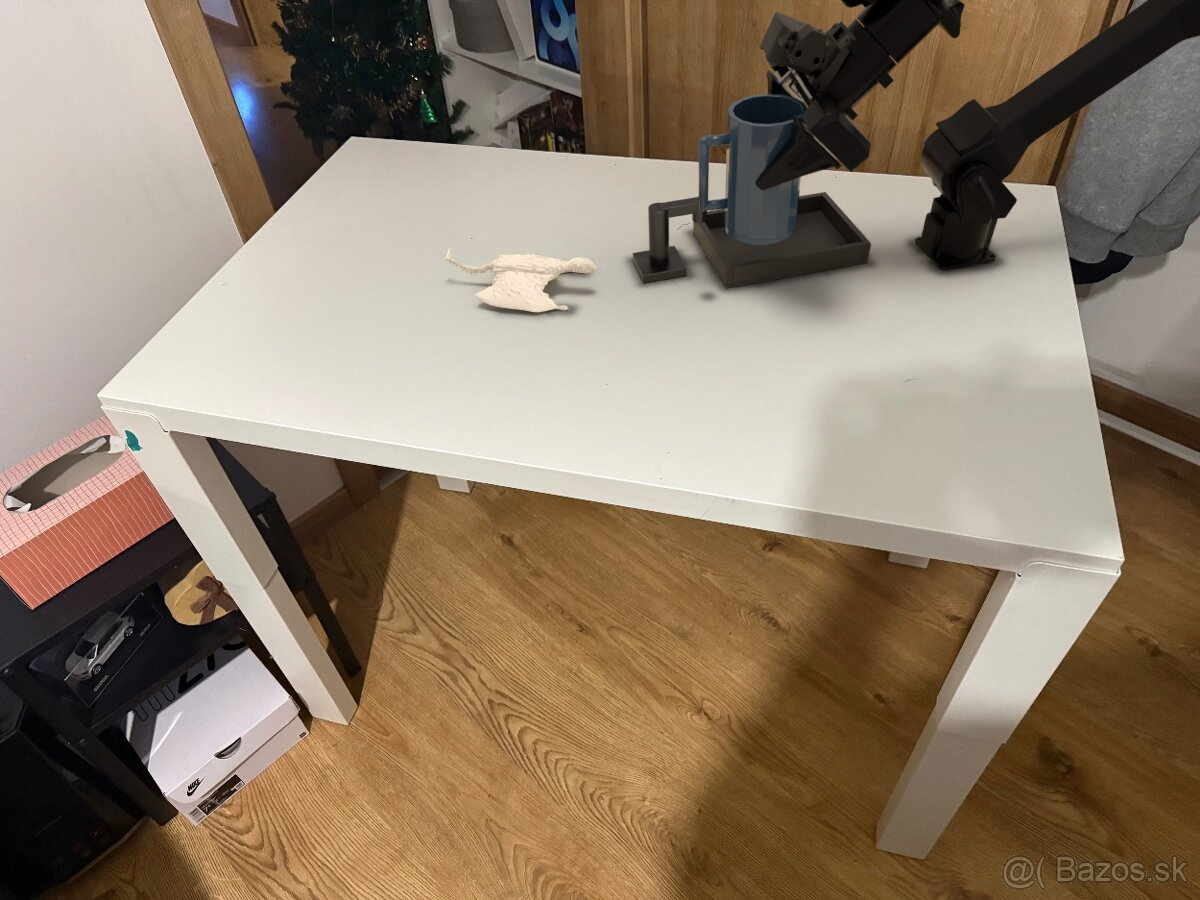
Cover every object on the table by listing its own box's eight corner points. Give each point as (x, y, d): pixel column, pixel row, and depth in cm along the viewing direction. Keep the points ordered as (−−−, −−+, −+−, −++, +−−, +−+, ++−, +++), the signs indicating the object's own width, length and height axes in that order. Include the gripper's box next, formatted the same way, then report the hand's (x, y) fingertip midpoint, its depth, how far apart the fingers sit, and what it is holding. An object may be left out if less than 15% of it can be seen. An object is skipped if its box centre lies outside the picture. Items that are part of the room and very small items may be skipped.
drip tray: (822, 210, 99) (825, 191, 98) (867, 263, 91) (871, 243, 89) (692, 232, 98) (693, 213, 96) (725, 288, 89) (727, 268, 87)
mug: (786, 206, 90) (796, 90, 81) (803, 240, 85) (815, 121, 76) (693, 216, 90) (693, 101, 81) (704, 251, 85) (705, 133, 76)
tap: (643, 283, 91) (641, 221, 85) (632, 260, 94) (630, 199, 89) (711, 271, 92) (714, 209, 86) (698, 249, 95) (700, 187, 90)
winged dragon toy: (428, 307, 90) (419, 274, 87) (458, 258, 97) (452, 226, 94) (587, 319, 86) (584, 286, 84) (606, 267, 93) (604, 235, 91)
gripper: (795, -49, 78) (680, 82, 85) (852, 13, 64) (710, 162, 72) (865, 30, 83) (751, 147, 91) (931, 103, 70) (791, 233, 77)
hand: (750, 169), depth 83 cm, fingers closed on mug, 7 cm apart
